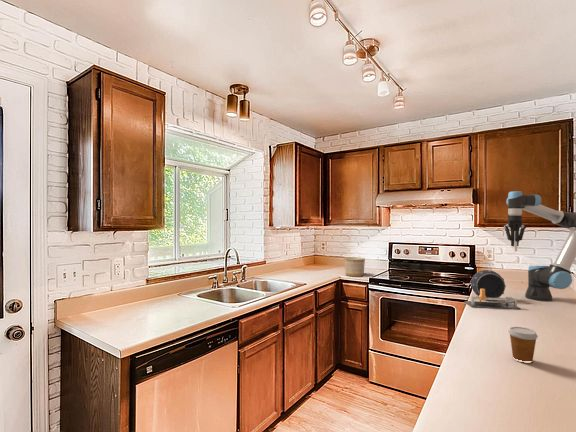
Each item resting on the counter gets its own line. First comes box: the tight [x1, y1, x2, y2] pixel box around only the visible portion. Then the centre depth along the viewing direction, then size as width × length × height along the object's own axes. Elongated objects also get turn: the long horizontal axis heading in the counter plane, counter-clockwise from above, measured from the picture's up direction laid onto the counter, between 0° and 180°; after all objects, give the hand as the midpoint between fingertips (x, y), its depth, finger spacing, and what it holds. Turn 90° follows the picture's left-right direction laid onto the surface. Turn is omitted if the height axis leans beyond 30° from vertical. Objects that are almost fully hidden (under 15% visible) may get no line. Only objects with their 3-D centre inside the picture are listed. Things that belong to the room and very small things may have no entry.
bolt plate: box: [464, 300, 521, 311], centre depth 213 cm, size 28×12×1 cm, turn 81°
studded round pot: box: [470, 269, 507, 298], centre depth 229 cm, size 11×20×20 cm, turn 78°
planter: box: [344, 256, 366, 278], centre depth 319 cm, size 19×19×16 cm
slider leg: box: [478, 289, 487, 304], centre depth 211 cm, size 3×6×10 cm, turn 172°
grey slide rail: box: [470, 296, 518, 307], centre depth 211 cm, size 26×5×7 cm, turn 81°
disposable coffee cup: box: [508, 326, 539, 361], centre depth 133 cm, size 10×10×12 cm
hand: (514, 251), depth 217 cm, fingers closed
